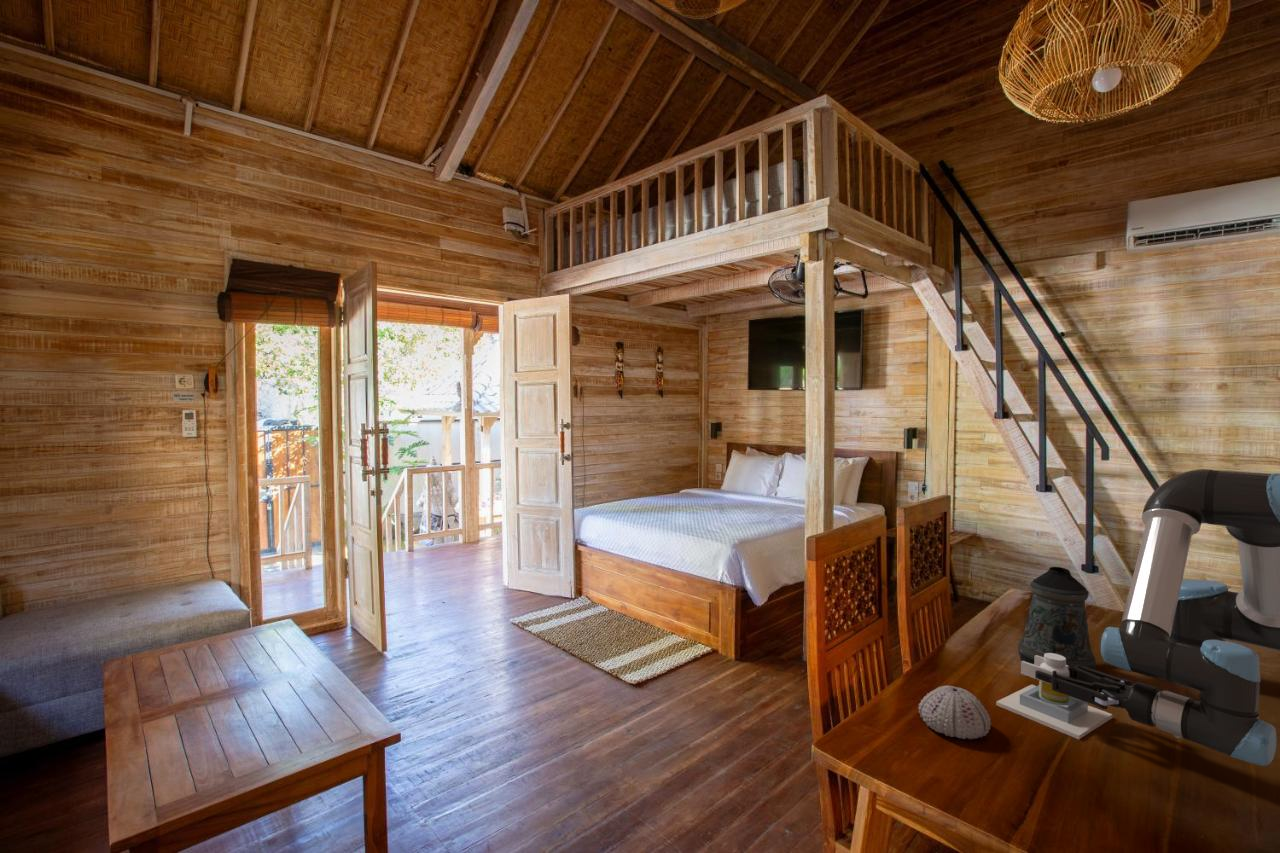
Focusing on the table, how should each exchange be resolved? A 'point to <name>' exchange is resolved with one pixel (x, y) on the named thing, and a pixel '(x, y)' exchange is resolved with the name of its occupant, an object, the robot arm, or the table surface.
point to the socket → (1055, 712)
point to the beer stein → (1057, 620)
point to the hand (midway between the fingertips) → (1028, 664)
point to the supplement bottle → (1045, 689)
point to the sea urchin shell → (955, 713)
